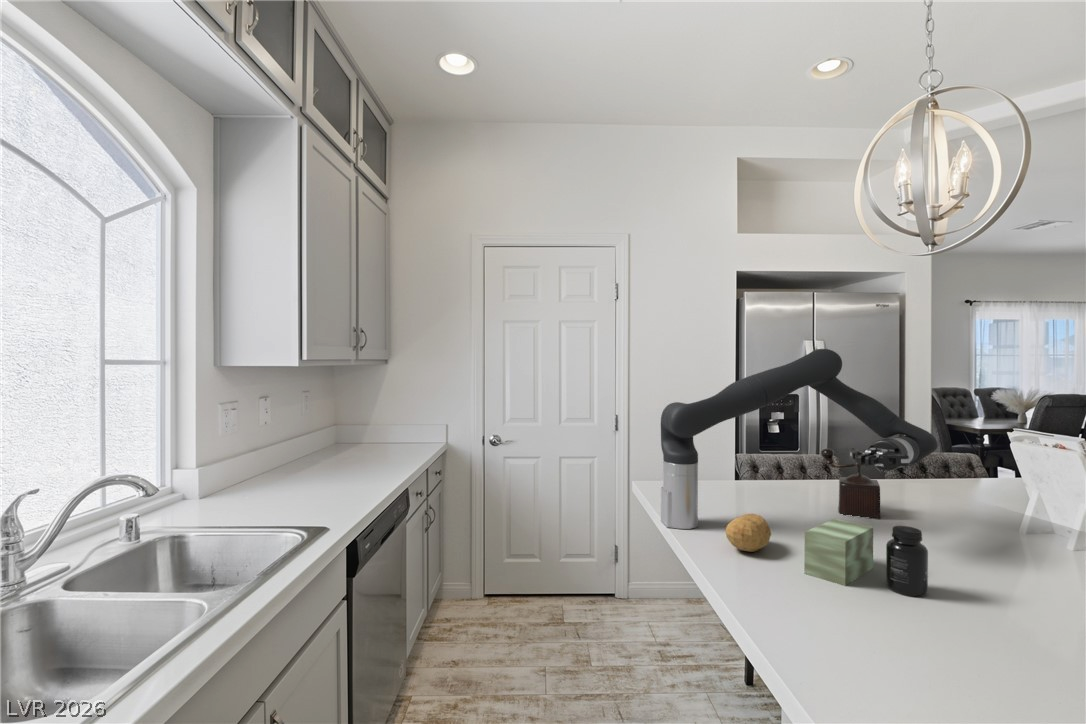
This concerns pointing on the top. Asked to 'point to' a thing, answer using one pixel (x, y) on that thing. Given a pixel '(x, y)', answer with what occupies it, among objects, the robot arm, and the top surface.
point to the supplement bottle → (907, 562)
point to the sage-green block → (838, 551)
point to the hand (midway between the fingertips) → (863, 461)
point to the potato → (748, 532)
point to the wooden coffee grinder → (856, 491)
